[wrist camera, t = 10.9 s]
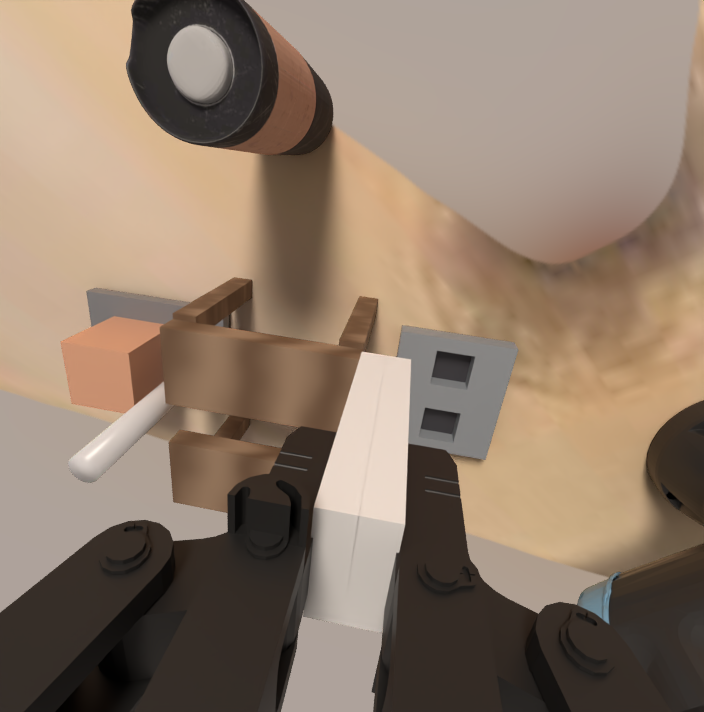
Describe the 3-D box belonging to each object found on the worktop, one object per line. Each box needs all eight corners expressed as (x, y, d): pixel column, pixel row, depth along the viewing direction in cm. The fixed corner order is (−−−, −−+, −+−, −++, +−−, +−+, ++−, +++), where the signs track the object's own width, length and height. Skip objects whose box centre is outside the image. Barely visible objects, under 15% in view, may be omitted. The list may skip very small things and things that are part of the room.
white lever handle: (228, 308, 48) (98, 403, 28) (229, 400, 53) (119, 535, 33) (95, 287, 49) (-117, 364, 30) (108, 379, 54) (-66, 496, 34)
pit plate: (514, 342, 45) (518, 349, 43) (482, 449, 51) (485, 459, 49) (402, 325, 46) (401, 331, 44) (383, 432, 52) (382, 441, 50)
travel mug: (350, 133, 40) (293, 102, 21) (281, 172, 42) (175, 173, 24) (313, 45, 37) (213, -75, 19) (241, 91, 39) (91, 22, 21)
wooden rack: (396, 301, 45) (387, 357, 32) (373, 447, 53) (357, 542, 39) (82, 254, 48) (-50, 287, 35) (103, 398, 56) (2, 472, 42)
